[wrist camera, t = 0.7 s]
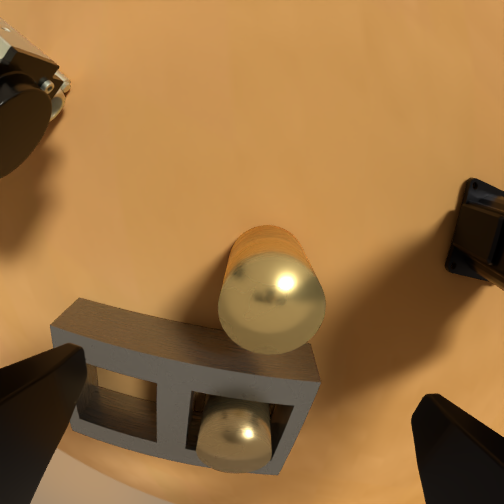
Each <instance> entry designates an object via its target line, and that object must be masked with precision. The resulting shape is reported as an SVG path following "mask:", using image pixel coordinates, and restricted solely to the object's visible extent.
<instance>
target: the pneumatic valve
mask: <svg viewBox="0 0 504 504" xmlns="http://www.w3.org/2000/svg"><path fill="white" fill-rule="evenodd" d="M58 69H59V66H58V65H57V64H56V63H55V62H54V61H52V60H51V59H50V58H49V57H48V56H47V55H45V54H44V53H43V52H42V51H41V50H39V49H38V48H37V47H36V46H35V45H33V44H32V43H31V42H30V41H29V40H27V39H26V38H25V37H24V36H23V35H21V34H20V33H19V32H18V31H16V30H15V29H14V28H13V27H12V26H10V25H9V24H8V23H7V22H6V21H4V20H3V19H2V18H1V17H0V178H3V177H4V176H6V175H8V174H9V173H11V172H12V171H13V170H15V169H16V168H17V167H18V166H19V165H21V164H22V163H23V162H24V161H25V160H26V159H27V157H28V156H29V155H30V154H31V153H32V152H33V150H34V149H35V148H36V146H37V145H38V143H39V142H40V140H41V139H42V137H43V135H44V133H45V131H46V129H47V127H48V124H49V122H50V121H51V120H53V119H54V118H55V117H56V116H57V115H58V114H59V113H60V111H61V110H62V108H63V106H64V103H65V96H64V93H63V92H67V91H68V90H69V89H70V87H71V85H70V83H71V81H70V80H69V79H68V78H67V77H66V76H65V75H64V74H62V73H61V72H60V71H59V70H58Z"/></svg>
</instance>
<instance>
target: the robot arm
mask: <svg viewBox="0 0 504 504" xmlns="http://www.w3.org/2000/svg"><path fill="white" fill-rule="evenodd" d="M473 183H474V188H473V187H472V186H473ZM452 263H453V266H452V267H451V264H452ZM445 268H446V270H447V271H449V272H451V273H454V274H459V275H463V276H468V277H472V278H477V279H481V280H485V281H490V282H491V283H493V284H494V285H496V286H497V287H499V288H500V289H502V290H503V291H504V191H502V190H500V189H498V188H496V187H493V186H491V185H489V184H487V183H485V182H483V181H481V180H479V179H476V178H469V179H468V181H467V183H466V188H465V193H464V197H463V202H462V206H461V210H460V214H459V218H458V222H457V225H456V229H455V233H454V236H453V240H452V243H451V246H450V250H449V253H448V256H447V259H446V262H445ZM86 379H87V366H86V359H85V352H84V349H83V348H82V347H81V346H79V345H76V344H73V343H66V344H63V345H61V346H58V347H56V348H53V349H51V350H48V351H45V352H43V353H40V354H38V355H35V356H32V357H30V358H27V359H25V360H22V361H19V362H17V363H14V364H11V365H9V366H6V367H4V368H1V369H0V504H30V503H31V500H32V498H33V496H34V494H35V492H36V489H37V487H38V485H39V483H40V481H41V478H42V477H43V474H44V472H45V470H46V468H47V466H48V464H49V462H50V460H51V458H52V456H53V454H54V452H55V450H56V448H57V446H58V444H59V442H60V440H61V438H62V436H63V434H64V432H65V430H66V428H67V426H68V424H69V422H70V419H71V417H72V414H73V412H74V409H75V406H76V404H77V401H78V399H79V396H80V394H81V391H82V389H83V387H84V384H85V382H86ZM411 425H412V431H413V437H414V444H415V451H416V458H417V465H418V470H419V475H420V479H421V483H422V488H423V492H424V497H425V502H426V504H504V437H502V436H501V435H499V434H498V433H496V432H495V431H493V430H492V429H490V428H489V427H487V426H486V425H484V424H483V423H481V422H480V421H478V420H477V419H475V418H474V417H473V416H471V415H470V414H468V413H467V412H465V411H464V410H462V409H461V408H459V407H458V406H456V405H455V404H453V403H452V402H450V401H449V400H447V399H446V398H444V397H443V396H441V395H440V394H426V395H425V396H424V397H423V398H422V400H421V401H420V403H419V405H418V406H417V408H416V410H415V411H414V413H413V415H412V418H411Z"/></svg>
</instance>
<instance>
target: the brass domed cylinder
mask: <svg viewBox="0 0 504 504" xmlns="http://www.w3.org/2000/svg"><path fill="white" fill-rule="evenodd" d="M325 308H326V302H325V295H324V292H323V289H322V287H321V285H320V283H319V281H318V279H317V277H316V275H315V273H314V271H313V268H312V266H311V264H310V262H309V260H308V258H307V256H306V254H305V252H304V251H303V249H302V247H301V245H300V243H299V241H298V240H297V239H296V238H295V237H294V236H293V235H292V234H291V233H290V232H288V231H287V230H285V229H283V228H280V227H277V226H271V225H264V226H258V227H254V228H252V229H249V230H248V231H246V232H245V233H243V234H242V235H241V236H240V237H239V238H238V239H237V240H236V241H235V243H234V245H233V246H232V249H231V251H230V255H229V260H228V264H227V268H226V272H225V276H224V280H223V284H222V289H221V293H220V297H219V301H218V315H219V320H220V322H221V325H222V327H223V329H224V331H225V332H226V334H227V335H228V336H229V337H230V338H231V339H232V340H233V341H234V342H235V343H236V344H238V345H239V346H241V347H242V348H244V349H246V350H249V351H252V352H255V353H259V354H268V355H270V354H281V353H286V352H289V351H292V350H294V349H296V348H298V347H300V346H302V345H303V344H305V343H306V342H307V341H309V340H310V339H311V338H312V337H313V336H314V335H315V333H316V332H317V331H318V329H319V327H320V326H321V324H322V321H323V319H324V315H325Z"/></svg>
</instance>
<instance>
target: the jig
mask: <svg viewBox="0 0 504 504" xmlns="http://www.w3.org/2000/svg"><path fill="white" fill-rule="evenodd" d="M50 329H51V336H52V343H53V348H56V347H58V346H61V345H63V344H66V343H73V344H76V345H79V346H81V347H82V348H83V349H84V352H85V359H86V366H87V379H86V382H85V384H84V387H83V389H82V391H81V394H80V396H79V399H78V401H77V404H76V406H75V409H74V412H73V414H72V417H71V419H70V423H71V427H72V430H73V431H75V432H78V433H81V434H83V435H86V436H89V437H91V438H94V439H97V440H100V441H103V442H106V443H109V444H112V445H115V446H118V447H122V448H125V449H128V450H132V451H135V452H139V453H143V454H146V455H150V456H154V457H158V458H163V459H167V460H171V461H176V462H181V463H186V464H191V465H196V466H202V467H208V468H211V467H209V466H207V465H205V464H204V463H203V462H202V461H201V460H200V459H199V458H198V456H197V453H196V447H197V442H198V436H199V430H200V425H201V419H202V414H203V413H202V412H197V411H193V410H194V402H195V394H196V392H201V393H206V394H211V395H217V396H223V397H229V398H236V399H242V400H249V401H257V402H265V403H273V404H276V405H275V408H274V411H273V413H272V416H271V419H270V430H271V450H272V456H271V459H270V461H269V462H268V463H267V464H266V465H265V466H264V467H262V468H260V469H258V470H255V471H252V472H247V473H255V474H268V475H278V474H279V472H280V471H281V469H282V467H283V465H284V463H285V461H286V459H287V457H288V455H289V453H290V451H291V449H292V447H293V444H294V442H295V440H296V438H297V436H298V434H299V432H300V430H301V428H302V425H303V423H304V421H305V419H306V417H307V414H308V412H309V410H310V407H311V405H312V403H313V401H314V398H315V396H316V394H317V391H318V389H319V386H320V384H321V380H320V376H319V373H318V369H317V365H316V362H315V358H314V354H313V351H312V347H311V344H306V343H305V344H303V345H302V346H300V347H298V348H296V349H294V350H292V351H289V352H286V353H281V354H270V355H268V354H259V353H255V352H252V351H249V350H246V349H244V348H242V347H241V346H239V345H238V344H236V343H235V342H234V341H233V340H232V339H231V338H230V337H229V336H228V335H227V334H226V332H225V331H223V330H217V329H212V328H207V327H201V326H196V325H191V324H186V323H182V322H177V321H172V320H167V319H163V318H158V317H154V316H150V315H145V314H141V313H137V312H132V311H128V310H124V309H120V308H116V307H112V306H108V305H105V304H101V303H97V302H93V301H90V300H86V299H82V298H78V299H77V300H76V301H75V302H74V303H73V304H72V305H71V306H70V307H69V308H67V309H66V310H65V311H64V312H63V313H62V314H61V315H60V316H59V317H58V318H57V319H56V320H55V321H54V322H53V323H52V324H51V325H50ZM96 366H97V367H100V368H103V369H107V370H110V371H113V372H117V373H120V374H124V375H127V376H131V377H135V378H139V379H142V380H146V381H150V382H154V383H157V403H155V402H151V401H147V400H144V399H140V398H136V397H132V396H129V395H125V394H122V393H118V392H115V391H112V390H108V389H105V388H102V387H99V386H98V380H97V372H96Z"/></svg>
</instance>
